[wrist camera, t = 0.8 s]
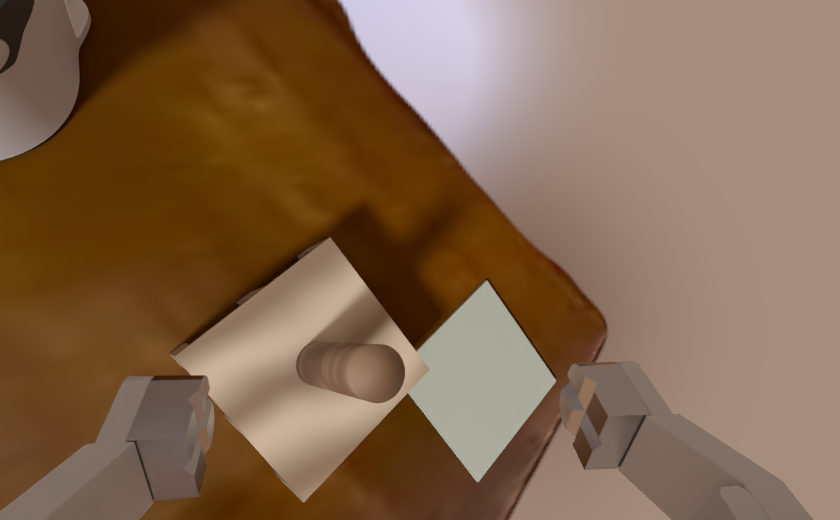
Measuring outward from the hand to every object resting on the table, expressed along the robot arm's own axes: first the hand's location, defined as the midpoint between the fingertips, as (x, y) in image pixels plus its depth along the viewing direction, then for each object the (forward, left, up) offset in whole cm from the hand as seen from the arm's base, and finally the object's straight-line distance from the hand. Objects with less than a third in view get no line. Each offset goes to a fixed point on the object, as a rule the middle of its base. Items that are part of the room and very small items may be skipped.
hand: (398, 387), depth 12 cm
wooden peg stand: (+5, +5, -33) cm, 34 cm away
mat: (+19, +18, -33) cm, 42 cm away
